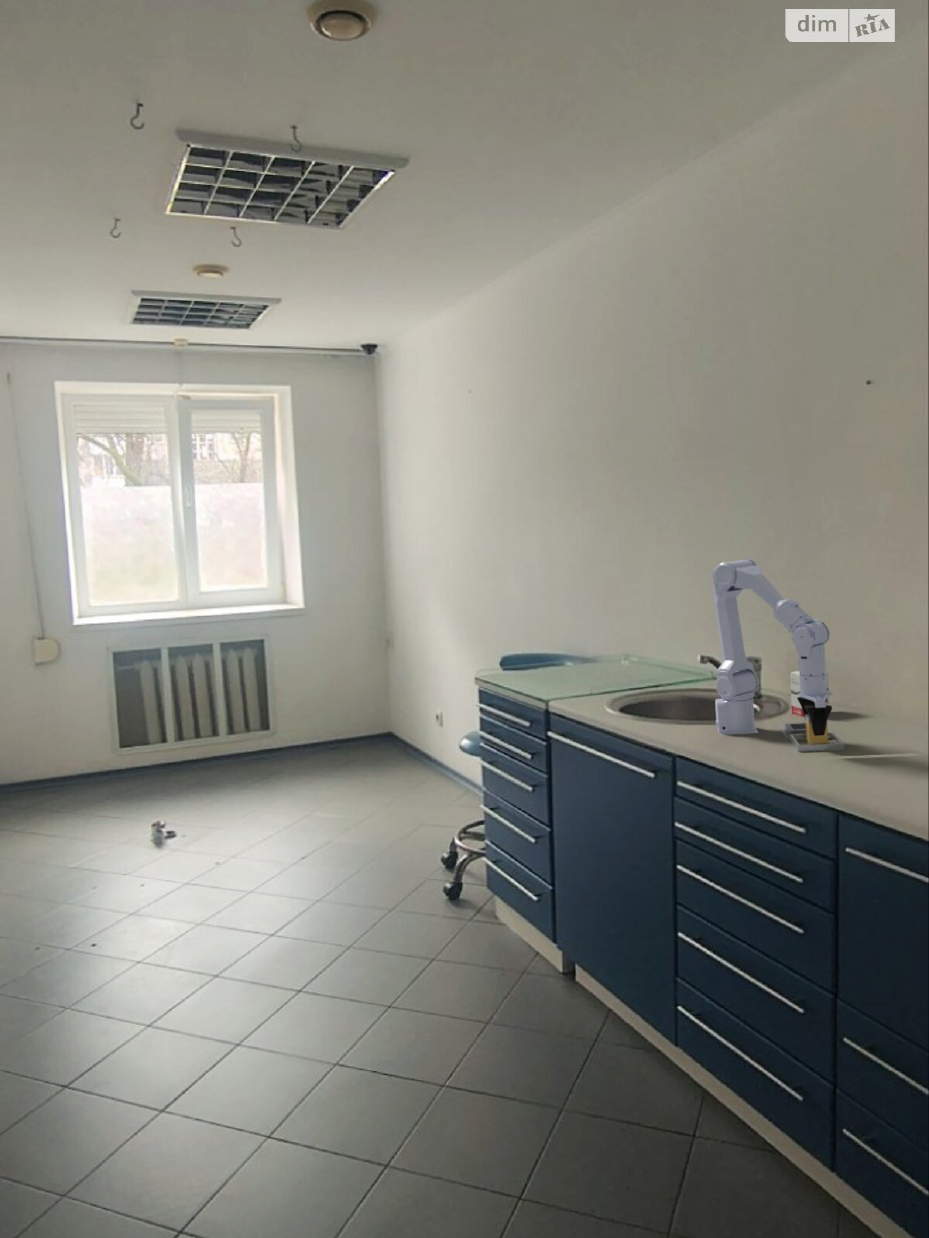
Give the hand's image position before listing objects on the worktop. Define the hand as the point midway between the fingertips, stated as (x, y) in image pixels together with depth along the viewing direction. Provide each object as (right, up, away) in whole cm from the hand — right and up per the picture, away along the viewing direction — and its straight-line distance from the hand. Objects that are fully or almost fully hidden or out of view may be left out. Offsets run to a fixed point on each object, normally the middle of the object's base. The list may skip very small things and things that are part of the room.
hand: (815, 730), depth 204 cm
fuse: (+1, -3, 0) cm, 3 cm away
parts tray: (0, -4, 0) cm, 4 cm away
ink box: (+11, 0, +30) cm, 32 cm away
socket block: (+1, -3, +11) cm, 11 cm away
